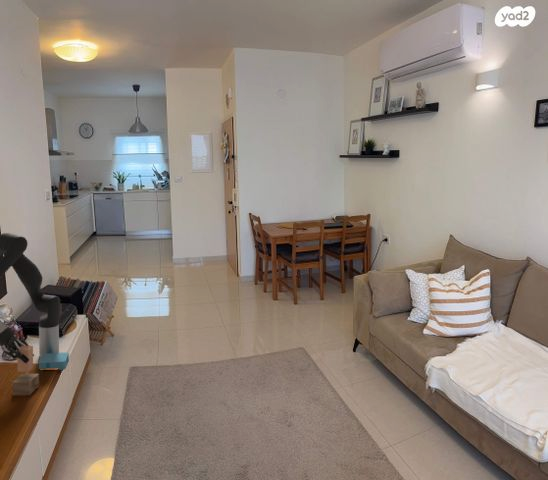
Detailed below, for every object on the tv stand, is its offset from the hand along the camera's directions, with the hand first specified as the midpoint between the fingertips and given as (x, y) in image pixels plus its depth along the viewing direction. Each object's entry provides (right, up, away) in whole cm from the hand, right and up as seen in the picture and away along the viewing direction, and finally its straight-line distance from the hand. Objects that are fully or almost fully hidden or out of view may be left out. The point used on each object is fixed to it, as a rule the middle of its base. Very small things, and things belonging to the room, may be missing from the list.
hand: (30, 359), depth 195 cm
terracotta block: (-2, -5, 0) cm, 5 cm away
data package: (-9, -9, +26) cm, 29 cm away
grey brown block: (-3, -15, +2) cm, 15 cm away
